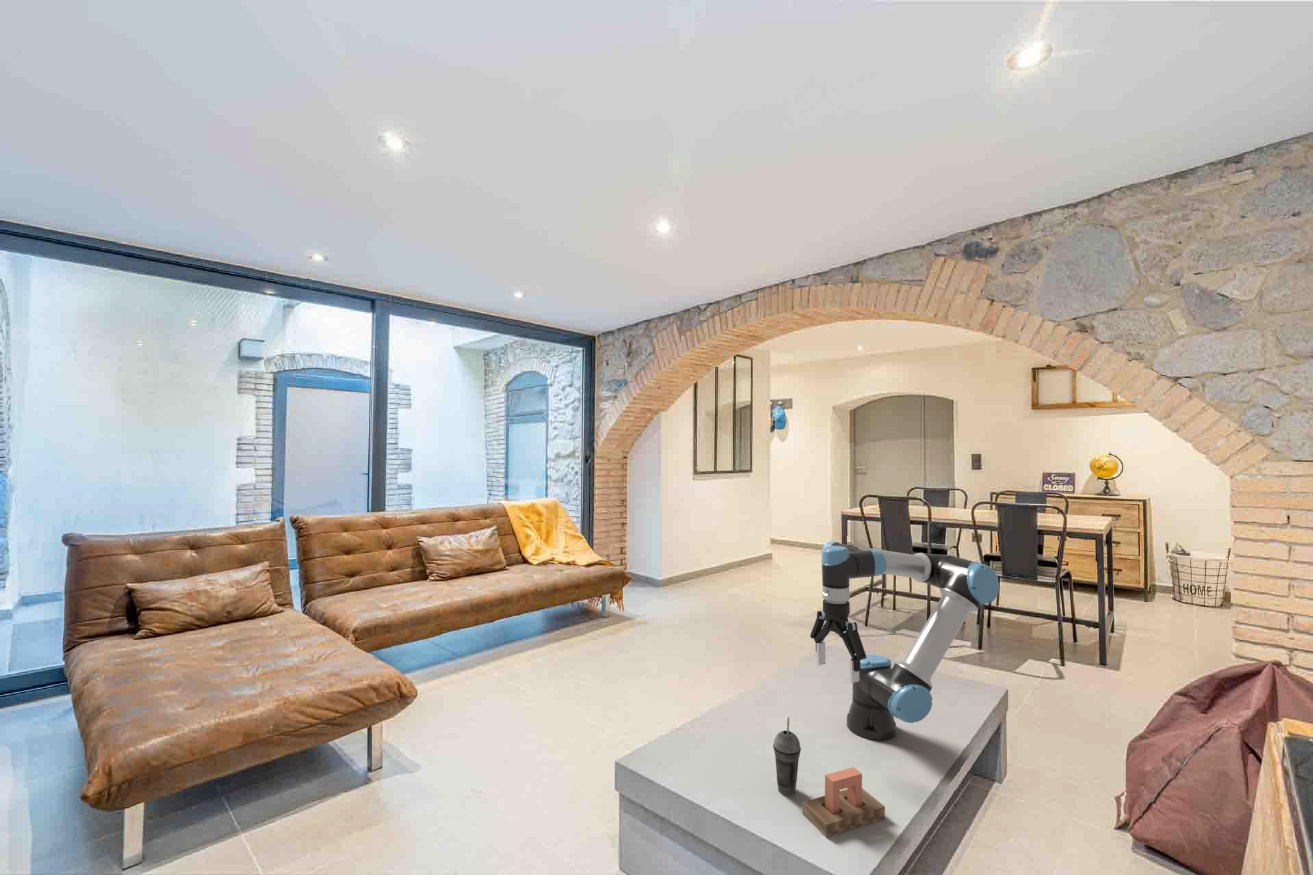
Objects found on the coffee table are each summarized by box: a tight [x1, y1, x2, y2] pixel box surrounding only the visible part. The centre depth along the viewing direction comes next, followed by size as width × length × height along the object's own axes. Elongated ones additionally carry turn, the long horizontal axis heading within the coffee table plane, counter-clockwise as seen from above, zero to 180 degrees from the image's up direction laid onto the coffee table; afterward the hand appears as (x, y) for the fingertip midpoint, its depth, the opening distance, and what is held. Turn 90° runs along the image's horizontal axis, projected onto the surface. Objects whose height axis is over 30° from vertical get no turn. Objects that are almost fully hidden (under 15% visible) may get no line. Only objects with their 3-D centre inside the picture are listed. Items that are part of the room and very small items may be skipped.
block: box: [824, 766, 863, 815], centre depth 141 cm, size 9×3×10 cm, turn 112°
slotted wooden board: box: [802, 787, 886, 838], centre depth 141 cm, size 18×9×3 cm, turn 112°
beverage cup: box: [772, 717, 802, 797], centre depth 151 cm, size 7×7×20 cm
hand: (837, 672), depth 165 cm, fingers open, 13 cm apart
